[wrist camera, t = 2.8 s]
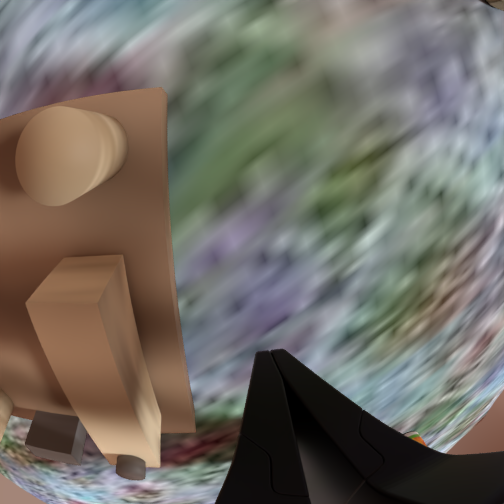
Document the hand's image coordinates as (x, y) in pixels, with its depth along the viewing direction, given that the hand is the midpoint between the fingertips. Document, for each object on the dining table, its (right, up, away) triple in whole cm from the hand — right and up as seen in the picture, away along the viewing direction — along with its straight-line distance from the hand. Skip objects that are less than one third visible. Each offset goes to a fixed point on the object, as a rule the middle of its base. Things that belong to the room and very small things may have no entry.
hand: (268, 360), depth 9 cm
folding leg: (-7, -1, +4) cm, 8 cm away
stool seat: (-12, +1, +4) cm, 13 cm away
